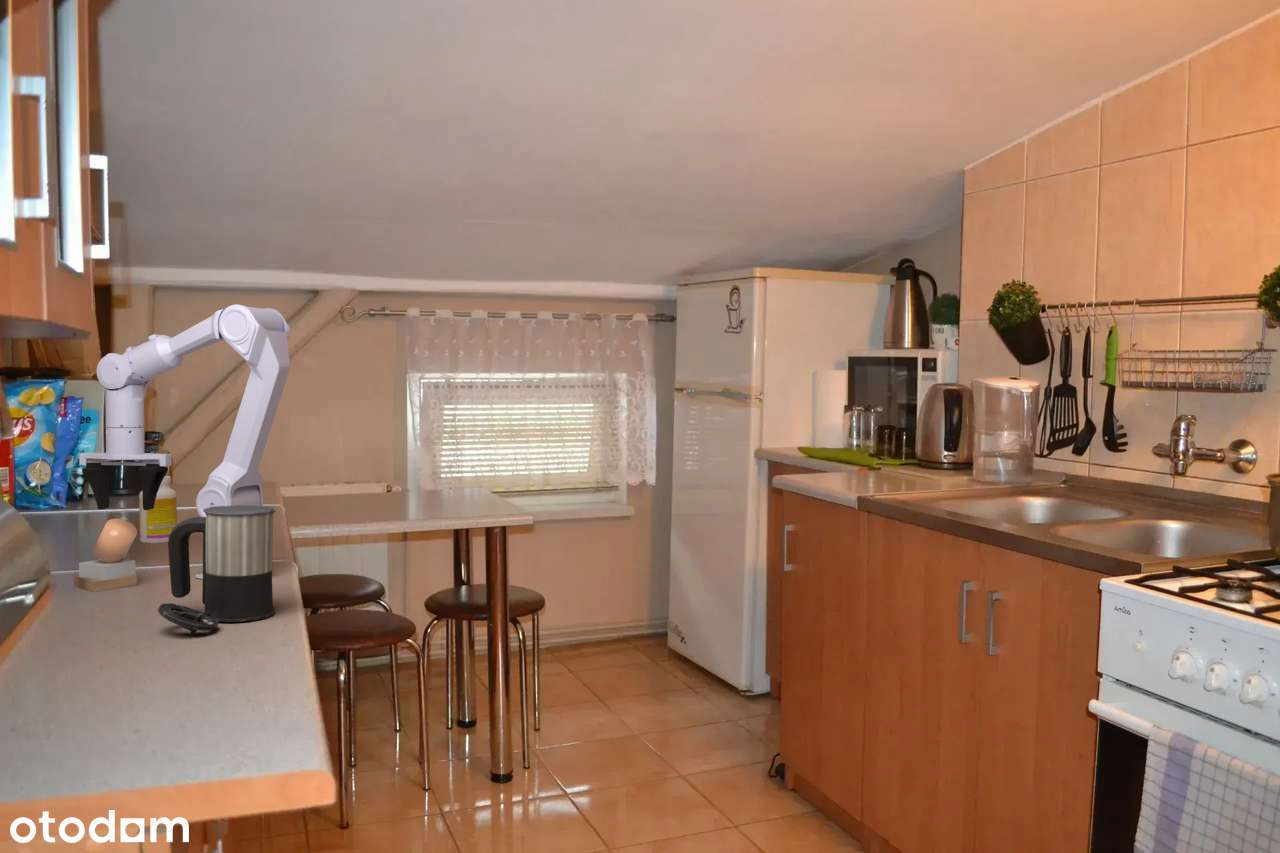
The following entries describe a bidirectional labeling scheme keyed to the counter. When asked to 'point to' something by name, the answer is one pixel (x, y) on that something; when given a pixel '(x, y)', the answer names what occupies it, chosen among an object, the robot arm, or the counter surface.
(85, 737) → the counter surface
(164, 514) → the supplement bottle
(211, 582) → the milk frother
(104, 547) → the terracotta cylinder
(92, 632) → the counter surface
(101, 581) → the slab lower
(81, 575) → the slab upper
